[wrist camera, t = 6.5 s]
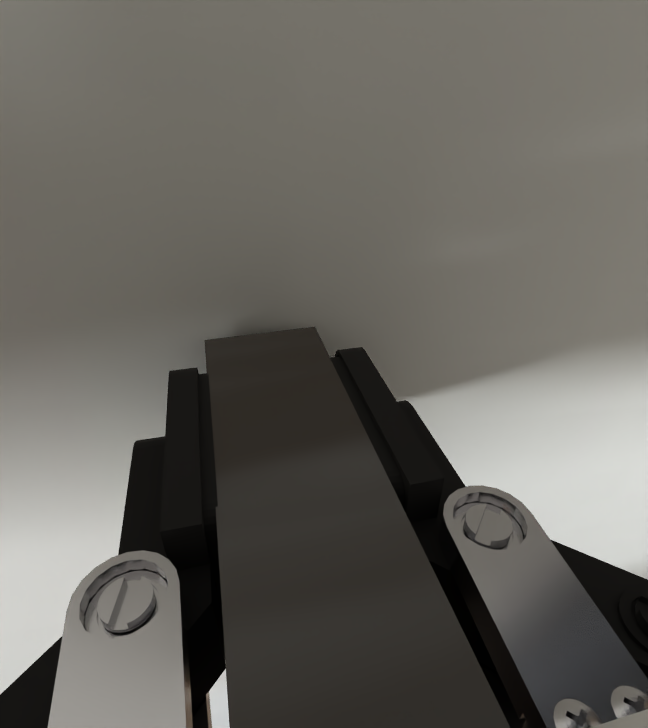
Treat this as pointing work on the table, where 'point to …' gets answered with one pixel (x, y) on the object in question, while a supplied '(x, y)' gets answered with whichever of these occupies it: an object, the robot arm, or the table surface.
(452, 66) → the table surface
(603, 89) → the table surface
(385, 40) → the table surface
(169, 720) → the robot arm
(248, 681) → the pull rod
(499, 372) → the table surface
